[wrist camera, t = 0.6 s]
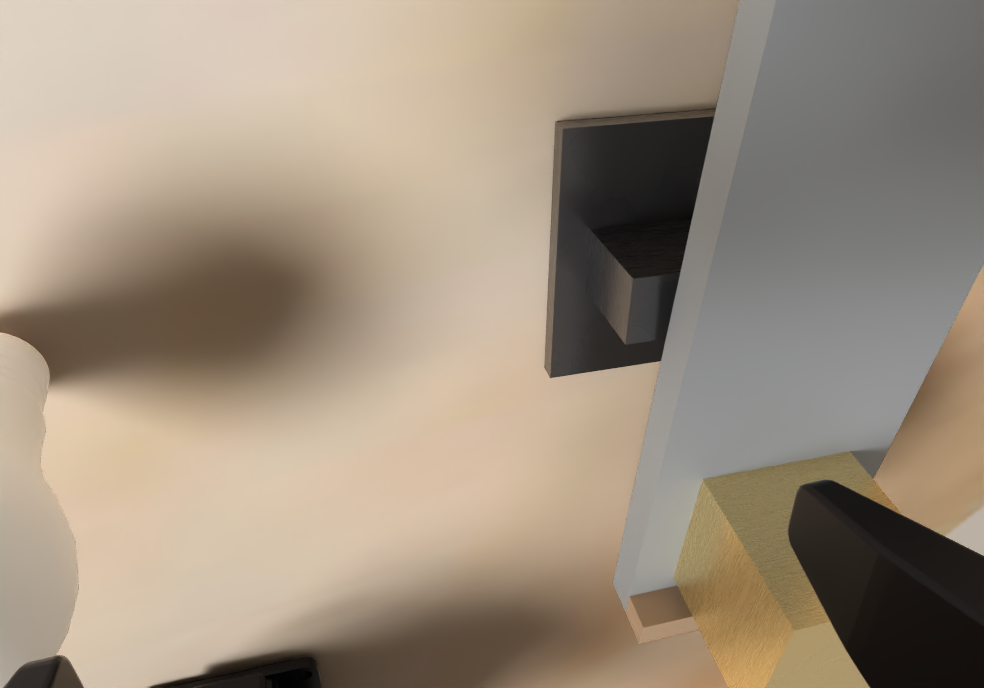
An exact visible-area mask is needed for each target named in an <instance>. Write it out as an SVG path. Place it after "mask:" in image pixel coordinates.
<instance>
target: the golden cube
mask: <svg viewBox="0 0 984 688" xmlns="http://www.w3.org/2000/svg"><path fill="white" fill-rule="evenodd" d="M820 480H833V481H835V482H838V483H840V484H841V485H843V486H845V487H847V488H849V489H851V490H853V491H855V492H857V493H859V494H861V495H863V496H865V497H867V498H869V499H871V500H873V501H875V502H877V503H879V504H881V505H883V506H885V507H887V508H889V509H891V510H893V511H895V512H897V513H899V514H901V513H900V511H899V510H898V509H897V508H896V506H895V505H894V504H893V503H892V502H891V500H890V499H889V498H888V497H887V496H886V494H885V493H884V492H883V491H882V490H881V488H880V487H879V486H878V485H877V483H876V482H875V481H874V480H873V479H872V477H871V476H870V475H869V474H868V473H867V471H866V470H865V469H864V468H863V467H862V465H861V464H860V463H859V462H858V460H857V459H856V458H855V457H854V456H853V454H852V453H851V452H850V451H848V452H843V453H838V454H833V455H827V456H822V457H817V458H812V459H807V460H801V461H796V462H791V463H786V464H780V465H775V466H770V467H765V468H759V469H754V470H749V471H744V472H738V473H733V474H728V475H723V476H718V477H712V478H707V479H703V480H702V484H701V487H700V490H699V494H698V497H697V500H696V503H695V507H694V510H693V513H692V517H691V520H690V523H689V527H688V530H687V533H686V537H685V540H684V543H683V547H682V550H681V553H680V557H679V560H678V563H677V566H676V570H675V573H674V576H673V578H674V580H675V582H676V584H677V586H678V588H679V590H680V592H681V594H682V596H683V598H684V600H685V602H686V604H687V606H688V608H689V610H690V612H691V614H692V616H693V618H694V620H695V622H696V624H697V626H698V628H699V630H700V632H701V634H702V636H703V638H704V640H705V642H706V644H707V646H708V648H709V650H710V652H711V654H712V656H713V658H714V660H715V662H716V664H717V666H718V668H719V670H720V672H721V674H722V676H723V678H724V680H725V682H726V684H727V686H728V688H870V687H869V686H868V684H867V683H866V681H865V680H864V678H863V677H862V675H861V673H860V672H859V670H858V669H857V667H856V666H855V664H854V663H853V661H852V659H851V658H850V656H849V655H848V653H847V651H846V650H845V648H844V646H843V644H842V643H841V641H840V639H839V637H838V635H837V634H836V632H835V630H834V628H833V626H832V624H831V622H830V620H829V618H828V616H827V614H826V613H825V611H824V609H823V607H822V605H821V603H820V601H819V599H818V597H817V595H816V593H815V591H814V589H813V588H812V586H811V584H810V582H809V580H808V578H807V576H806V574H805V572H804V570H803V568H802V566H801V564H800V563H799V561H798V559H797V557H796V555H795V553H794V551H793V549H792V547H791V545H790V542H789V538H788V524H789V520H790V516H791V512H792V508H793V504H794V500H795V495H796V492H797V490H798V488H799V487H800V486H801V485H803V484H807V483H811V482H815V481H820ZM901 515H902V514H901Z"/></svg>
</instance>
